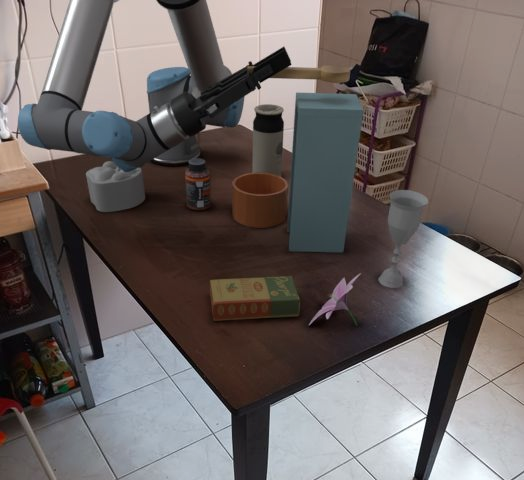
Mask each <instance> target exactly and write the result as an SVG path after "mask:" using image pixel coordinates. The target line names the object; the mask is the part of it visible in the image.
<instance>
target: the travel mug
mask: <svg viewBox="0 0 524 480" xmlns="http://www.w3.org/2000/svg"><path fill="white" fill-rule="evenodd" d="M284 111H285V109H284V107H282V106H281V105H277V104H272V103H271V104H270V103H269V104H268V103H267V104H259V105H257V106H255V107H254V112H255V117H254V118H253V121H252V123H253V124H252V167H251V168H252V172H251V173H269V174H274V175H277V176H280V177H282V170H283V169H282V168H283V152H284V151H283V150H284V131H285V130H284V129H285V121H284V119H283V113H284Z"/></svg>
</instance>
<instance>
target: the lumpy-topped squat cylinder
mask: <svg viewBox="0 0 524 480" xmlns="http://www.w3.org/2000/svg"><path fill="white" fill-rule="evenodd" d="M85 177H86V182H87V187H88V193H89V199H90V203H91V204H93V206H95V210H96V211H99V212H100V213H113V212H118V211H119V212H120V211H125V210H128V209H132V208H135V207H137V206H140V204H142V203H143V202H144V201H145V200H146V191H145V183H144V182H145V181H144V174H143V170H142V167H140V168H137V169H134V170H132V171H130V172H125V171H123V170H121V168H119V167H117V166H116V164H115V163H114V162H113V160H111V161H110V160H108V161H105V162H104V163H102V166H96V167H93V168H90V169H89V170H87V171H86V173H85Z"/></svg>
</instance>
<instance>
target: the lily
mask: <svg viewBox="0 0 524 480" xmlns="http://www.w3.org/2000/svg"><path fill="white" fill-rule="evenodd" d="M361 274H362V273H361V272H360V273H358V274H357V275H356V276H354V277H353V278H352V279H351V280H350V281H348V283H347V282H346V278H345V277H343V278H342V279H341V280H340V281H339V282H338V284H337V285H336V286H335V287H334V289H333V291H332V293H328V296H329V298H330V299H328V300H327V301H326V302H325V303H324V304H323V305H322V307H321V309H320V310H318V311H317V312H316V314H315V315H314V316H313V317H312V319H311V320H310V322H309V324H308V326H310V325H311V324H313V322H314V321H315V320H316V319H317V318H319V317H320V316H321V315H323V314H325V313H326V314H325V318H326V320H329V319H330V317H331V315H332V313H333V311H340V310H345V311H347V313H348V314H349V315H350V317H351V319H352V321H353V322H354V324H355V326H358V323H357V321H356V319H355V317H354V316H353V314H352V312H351V311H350V310H349V308H348V306H347V301H348V300H347V299H348V293H349V292H350V291H351V290H352V289H353V288H354V285H353V284H354V282H355V281H356V280H357V279H358V278H359V276H360V275H361Z"/></svg>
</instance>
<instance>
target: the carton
mask: <svg viewBox="0 0 524 480" xmlns="http://www.w3.org/2000/svg"><path fill="white" fill-rule="evenodd" d="M209 294H210V295H209V297H210V302H211V311H212V312H211V313H212V321H214V322H216V321H232V320H233V321H234V320H251V319H252V320H253V319H269V318H270V319H272V318H296V317H299V316H300V313H301V299H300V296H299V294H298V291H297V287H296V285H295V282H294V278H293V276H292V275H283V276H282V275H281V276H265V277H242V278H240V277H239V278H225V279H224V278H221V279H210V280H209Z"/></svg>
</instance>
